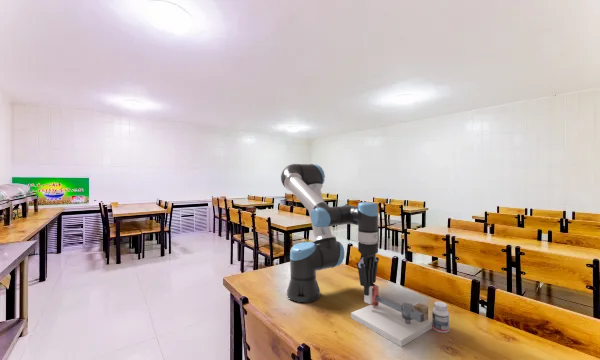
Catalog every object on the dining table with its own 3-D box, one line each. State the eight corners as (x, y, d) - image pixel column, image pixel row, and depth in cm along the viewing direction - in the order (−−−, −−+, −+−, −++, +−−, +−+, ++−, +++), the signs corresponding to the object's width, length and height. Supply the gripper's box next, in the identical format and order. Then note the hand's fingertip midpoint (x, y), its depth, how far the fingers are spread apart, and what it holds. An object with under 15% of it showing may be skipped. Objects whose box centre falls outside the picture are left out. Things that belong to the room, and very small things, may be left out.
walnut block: (413, 317, 100) (413, 305, 100) (419, 314, 102) (418, 302, 102) (422, 321, 97) (422, 309, 97) (428, 318, 99) (428, 306, 99)
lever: (368, 303, 109) (367, 286, 109) (374, 301, 111) (374, 284, 111) (418, 328, 90) (418, 307, 90) (425, 325, 93) (425, 304, 93)
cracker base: (350, 317, 104) (350, 308, 104) (381, 304, 114) (381, 295, 114) (401, 346, 86) (401, 334, 86) (432, 328, 96) (432, 317, 96)
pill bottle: (434, 323, 99) (434, 299, 99) (450, 328, 96) (450, 303, 96) (430, 329, 95) (430, 304, 95) (447, 335, 92) (447, 308, 92)
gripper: (367, 246, 99) (367, 311, 99) (385, 241, 108) (385, 300, 108) (350, 243, 104) (350, 304, 104) (368, 238, 113) (368, 294, 113)
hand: (368, 302), depth 106 cm, fingers closed
